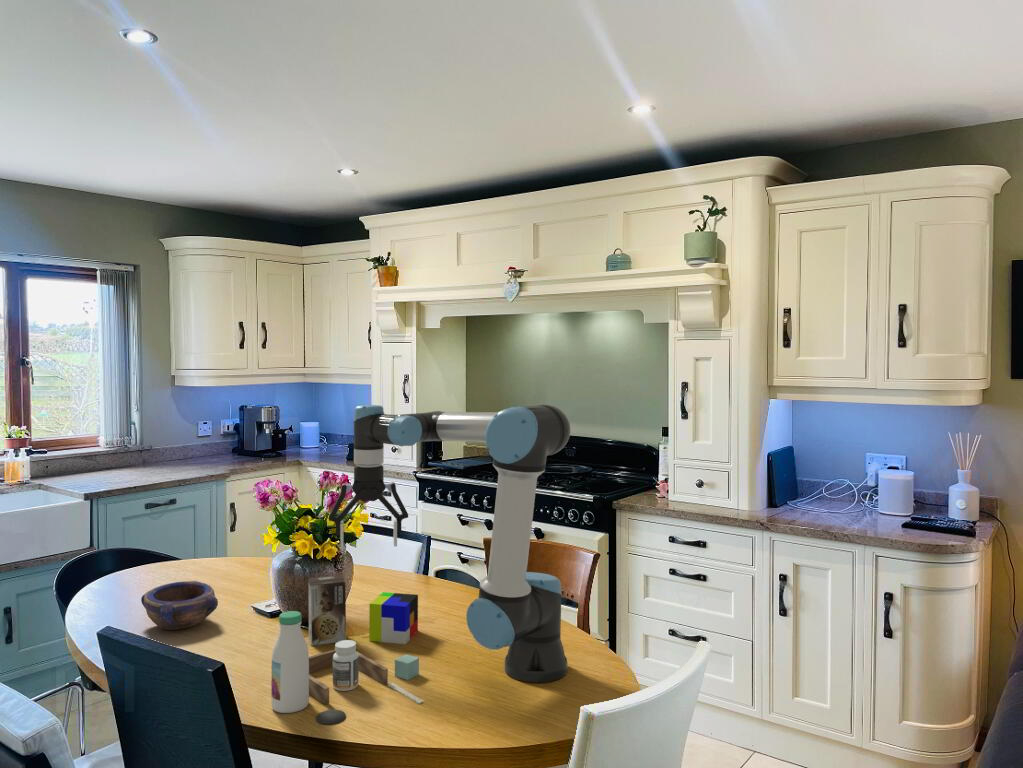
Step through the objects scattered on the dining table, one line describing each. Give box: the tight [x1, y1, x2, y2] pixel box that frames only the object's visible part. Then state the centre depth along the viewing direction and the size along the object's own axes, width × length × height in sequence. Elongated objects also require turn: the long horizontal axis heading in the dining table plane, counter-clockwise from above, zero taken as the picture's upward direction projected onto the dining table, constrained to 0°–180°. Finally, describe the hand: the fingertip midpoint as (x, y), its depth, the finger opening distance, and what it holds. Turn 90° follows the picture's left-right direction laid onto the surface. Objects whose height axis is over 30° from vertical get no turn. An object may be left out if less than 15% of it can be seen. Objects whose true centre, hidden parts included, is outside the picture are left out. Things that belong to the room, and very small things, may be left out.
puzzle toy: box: [368, 591, 419, 645], centre depth 205 cm, size 10×10×10 cm
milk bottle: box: [270, 610, 310, 714], centre depth 164 cm, size 8×8×20 cm
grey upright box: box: [307, 574, 347, 647], centre depth 202 cm, size 9×6×16 cm
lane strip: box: [387, 682, 424, 705], centre depth 171 cm, size 12×1×1 cm, turn 43°
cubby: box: [309, 648, 389, 706], centre depth 177 cm, size 18×16×4 cm
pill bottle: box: [332, 639, 359, 692], centre depth 174 cm, size 6×6×10 cm
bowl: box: [140, 580, 219, 631], centre depth 211 cm, size 18×18×10 cm
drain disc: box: [315, 709, 347, 725], centre depth 159 cm, size 6×6×1 cm
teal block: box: [394, 653, 420, 681], centre depth 180 cm, size 4×4×4 cm
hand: (368, 546), depth 199 cm, fingers open, 13 cm apart
